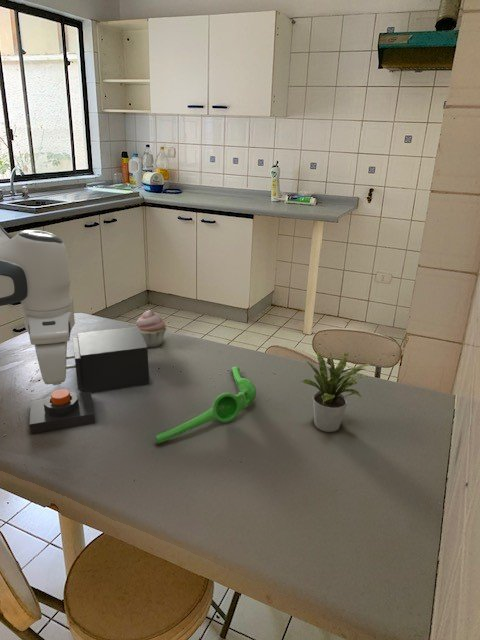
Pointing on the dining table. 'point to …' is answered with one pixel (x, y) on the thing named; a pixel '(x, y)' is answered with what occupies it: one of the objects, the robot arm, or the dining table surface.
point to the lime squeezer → (218, 408)
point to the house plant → (332, 392)
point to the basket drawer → (76, 363)
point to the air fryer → (113, 359)
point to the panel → (61, 413)
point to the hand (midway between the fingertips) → (56, 381)
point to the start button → (60, 397)
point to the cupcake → (151, 328)
